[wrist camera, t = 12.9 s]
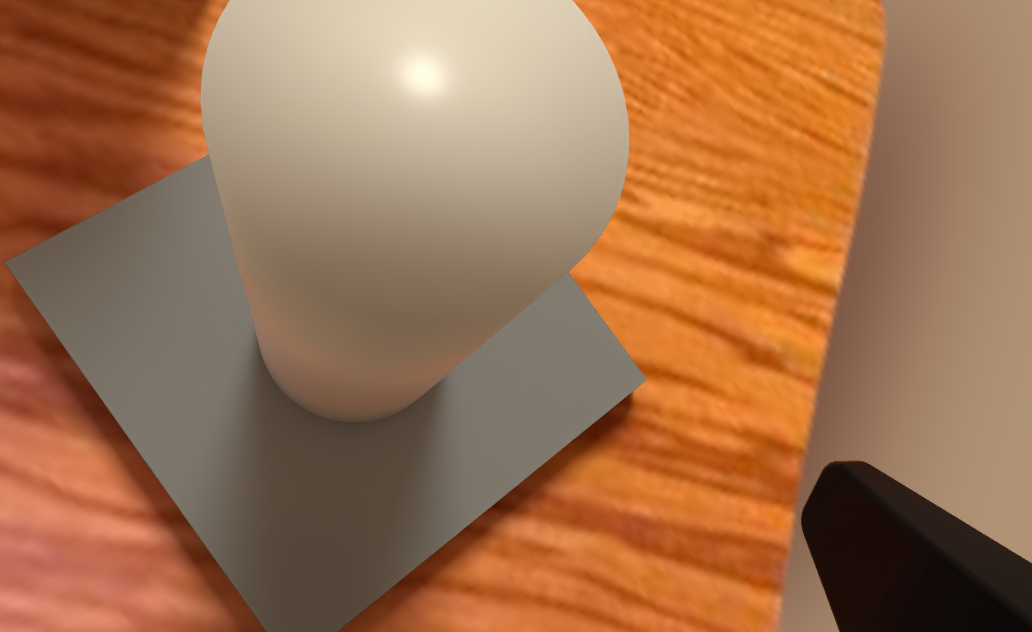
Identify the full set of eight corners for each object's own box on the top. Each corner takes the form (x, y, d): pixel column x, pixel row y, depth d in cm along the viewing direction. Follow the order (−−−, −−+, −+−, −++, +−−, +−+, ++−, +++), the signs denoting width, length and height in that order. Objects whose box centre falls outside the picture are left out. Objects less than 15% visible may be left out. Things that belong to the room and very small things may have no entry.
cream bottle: (485, 324, 22) (702, 121, 10) (362, 462, 20) (449, 411, 8) (351, 202, 22) (413, -151, 10) (214, 332, 20) (92, 91, 8)
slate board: (632, 384, 24) (646, 379, 23) (292, 660, 20) (292, 668, 19) (402, 67, 24) (406, 50, 23) (17, 273, 20) (3, 262, 19)
